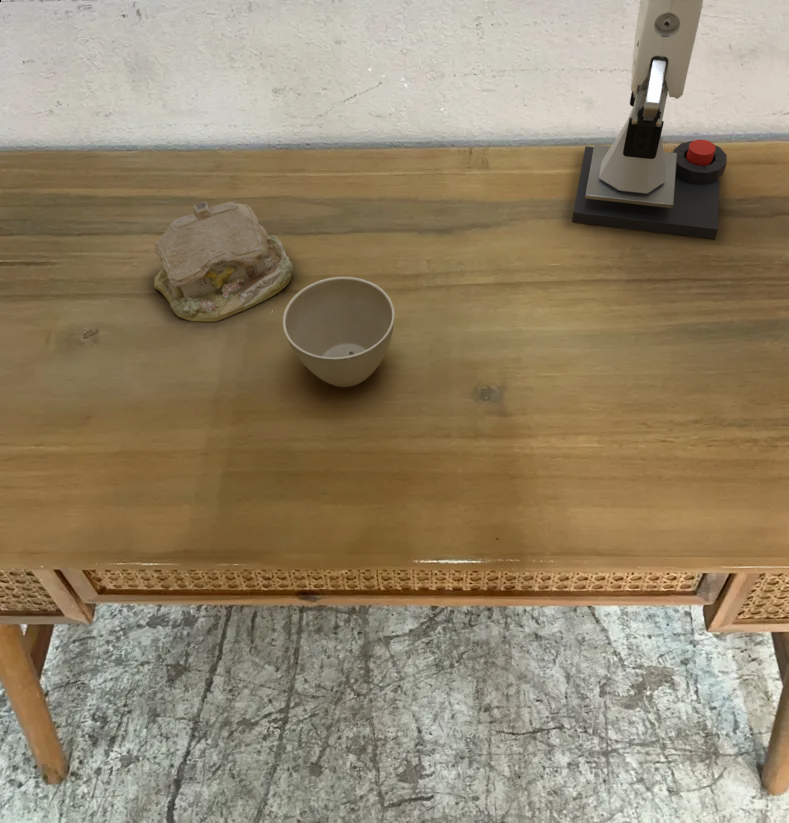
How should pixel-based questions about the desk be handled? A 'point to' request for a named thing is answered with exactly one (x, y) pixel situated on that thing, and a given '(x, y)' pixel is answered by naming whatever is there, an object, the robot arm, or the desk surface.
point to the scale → (686, 218)
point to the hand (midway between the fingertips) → (642, 129)
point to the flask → (633, 164)
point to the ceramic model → (219, 262)
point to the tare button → (700, 152)
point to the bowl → (340, 328)
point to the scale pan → (606, 192)
